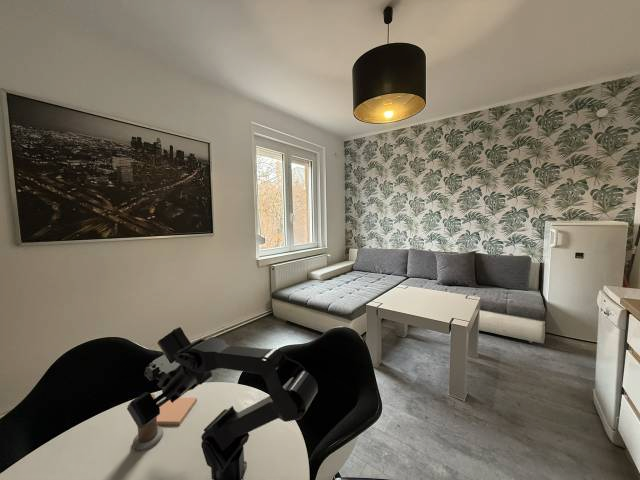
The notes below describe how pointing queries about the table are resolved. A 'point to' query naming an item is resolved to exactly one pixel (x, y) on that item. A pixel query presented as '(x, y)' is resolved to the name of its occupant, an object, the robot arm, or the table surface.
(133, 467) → the table surface
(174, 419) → the tile rest
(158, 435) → the tamper
